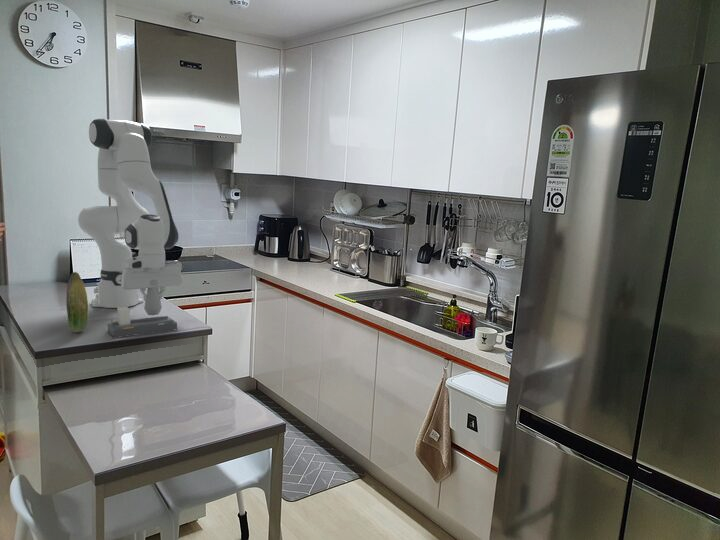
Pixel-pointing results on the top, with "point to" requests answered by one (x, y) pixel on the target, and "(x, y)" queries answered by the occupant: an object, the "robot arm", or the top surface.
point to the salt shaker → (153, 300)
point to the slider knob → (123, 316)
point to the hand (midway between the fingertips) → (152, 299)
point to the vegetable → (76, 303)
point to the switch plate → (142, 326)
